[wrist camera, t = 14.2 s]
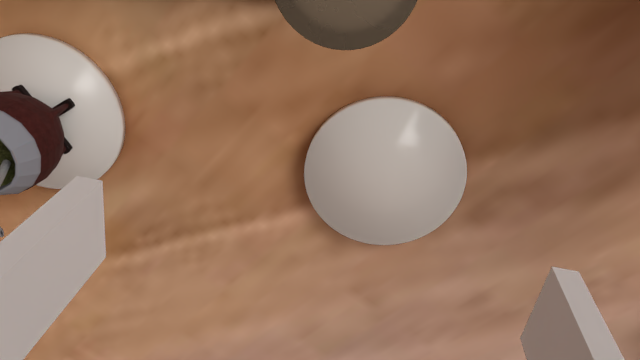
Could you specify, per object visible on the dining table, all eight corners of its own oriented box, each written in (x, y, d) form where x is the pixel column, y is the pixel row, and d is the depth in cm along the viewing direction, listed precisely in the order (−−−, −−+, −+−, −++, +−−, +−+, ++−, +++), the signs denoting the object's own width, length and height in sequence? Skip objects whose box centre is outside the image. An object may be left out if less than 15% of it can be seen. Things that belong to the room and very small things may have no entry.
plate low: (-38, 18, 41) (-52, 21, 40) (127, 47, 41) (119, 51, 40) (-16, 167, 47) (-27, 174, 46) (129, 192, 47) (122, 200, 46)
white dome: (318, 80, 41) (316, 86, 40) (484, 109, 41) (487, 116, 40) (296, 221, 47) (294, 230, 46) (441, 247, 47) (443, 256, 46)
